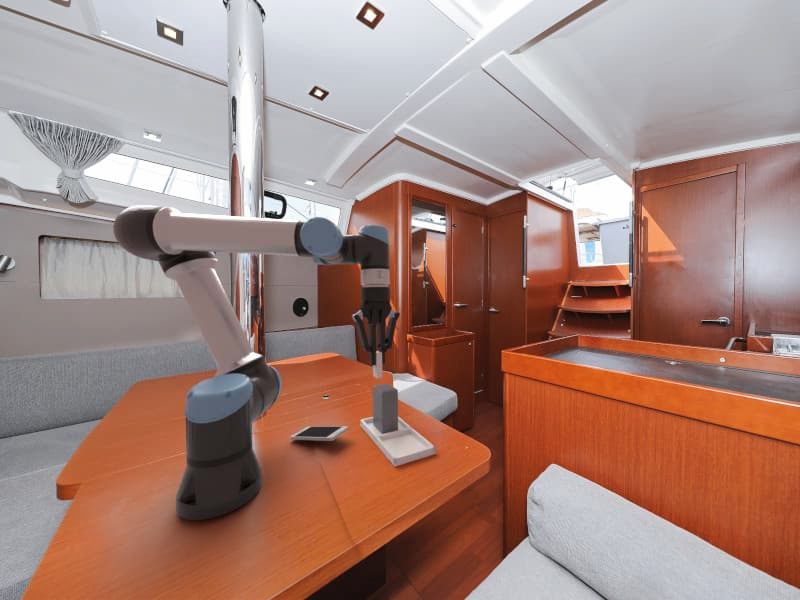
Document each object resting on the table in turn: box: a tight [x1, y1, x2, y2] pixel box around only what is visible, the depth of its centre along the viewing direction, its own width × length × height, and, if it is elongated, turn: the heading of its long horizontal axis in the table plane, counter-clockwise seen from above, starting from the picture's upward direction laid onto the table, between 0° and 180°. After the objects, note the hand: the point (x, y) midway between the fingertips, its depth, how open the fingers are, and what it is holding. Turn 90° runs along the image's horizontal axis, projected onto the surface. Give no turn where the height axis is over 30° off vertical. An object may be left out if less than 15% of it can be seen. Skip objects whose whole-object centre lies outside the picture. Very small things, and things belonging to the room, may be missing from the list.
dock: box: [359, 383, 436, 468], centre depth 80 cm, size 11×24×13 cm, turn 27°
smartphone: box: [289, 425, 349, 442], centre depth 79 cm, size 7×15×1 cm, turn 63°
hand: (377, 376), depth 74 cm, fingers closed
